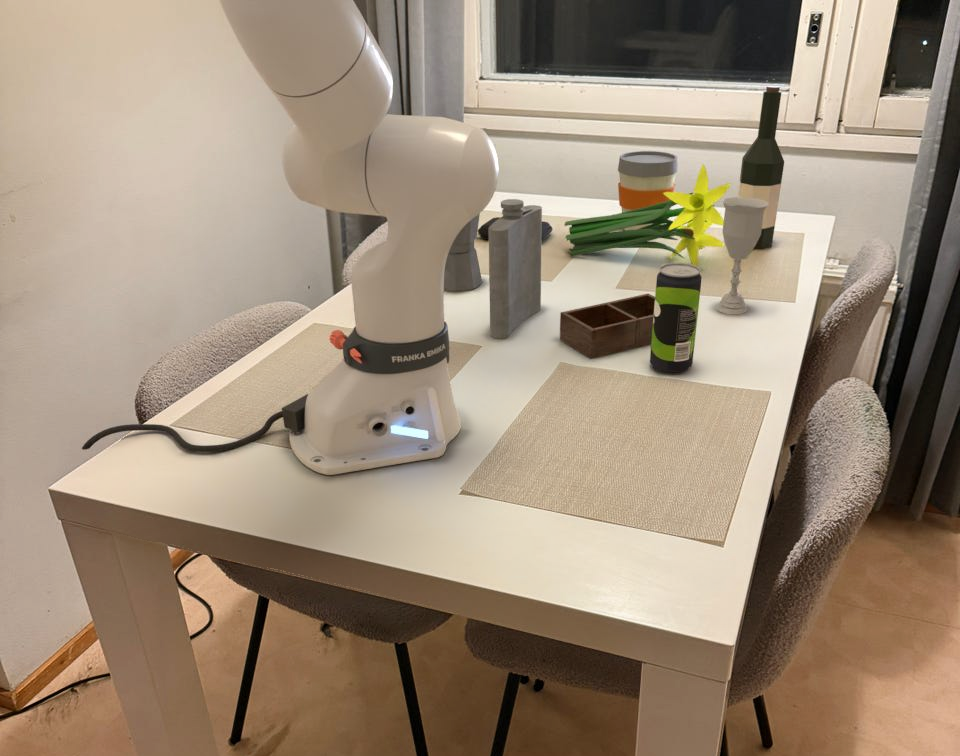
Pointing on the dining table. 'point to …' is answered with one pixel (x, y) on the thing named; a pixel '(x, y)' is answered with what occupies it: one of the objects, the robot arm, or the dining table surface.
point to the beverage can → (675, 317)
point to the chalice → (740, 242)
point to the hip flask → (514, 266)
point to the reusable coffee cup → (645, 179)
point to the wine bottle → (764, 166)
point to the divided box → (609, 326)
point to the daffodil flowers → (655, 224)
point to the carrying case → (484, 228)
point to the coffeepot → (463, 261)
